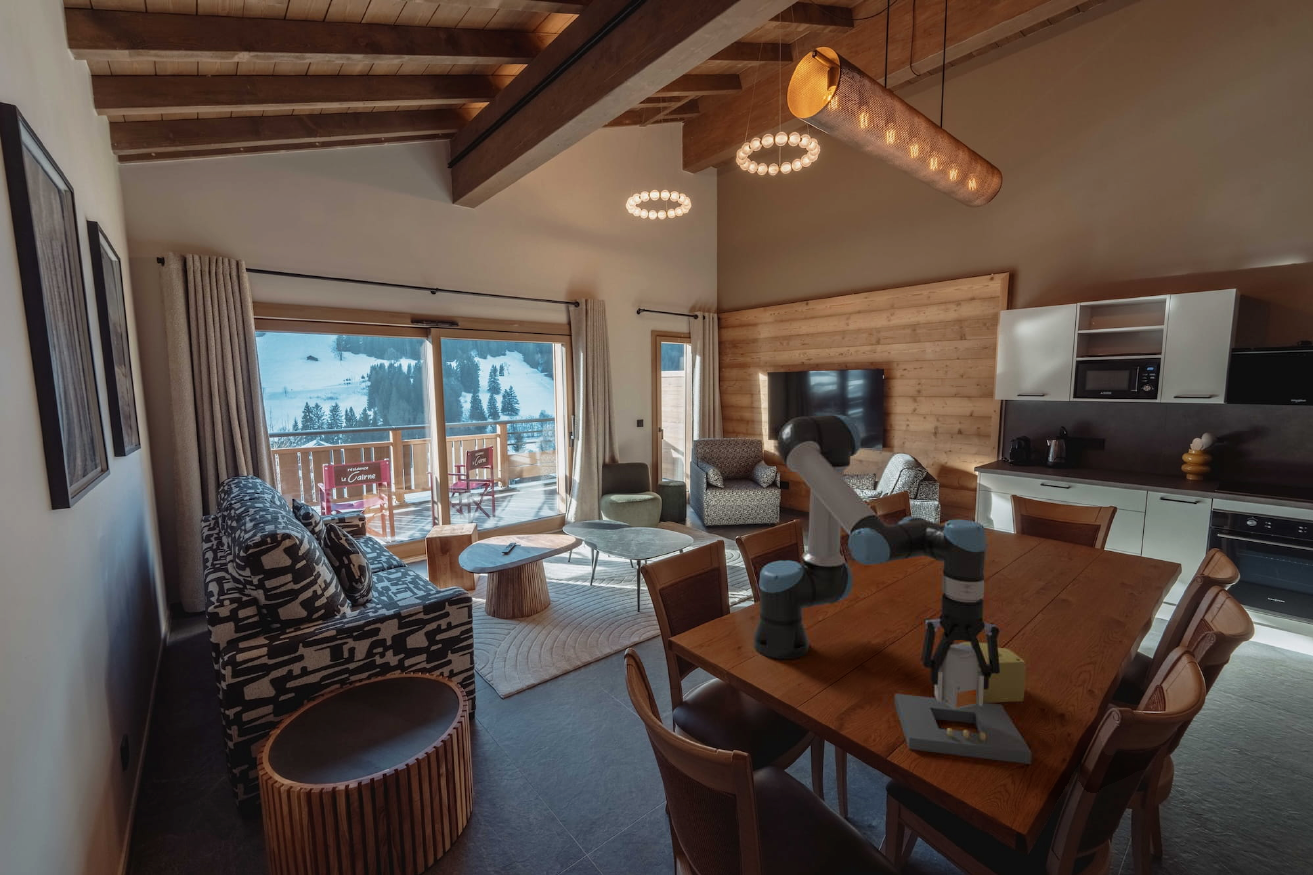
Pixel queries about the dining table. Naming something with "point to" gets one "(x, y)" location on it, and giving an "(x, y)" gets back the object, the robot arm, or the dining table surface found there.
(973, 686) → the skincare box
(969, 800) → the dining table surface
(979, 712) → the grey frame plate
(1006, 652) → the cheese
